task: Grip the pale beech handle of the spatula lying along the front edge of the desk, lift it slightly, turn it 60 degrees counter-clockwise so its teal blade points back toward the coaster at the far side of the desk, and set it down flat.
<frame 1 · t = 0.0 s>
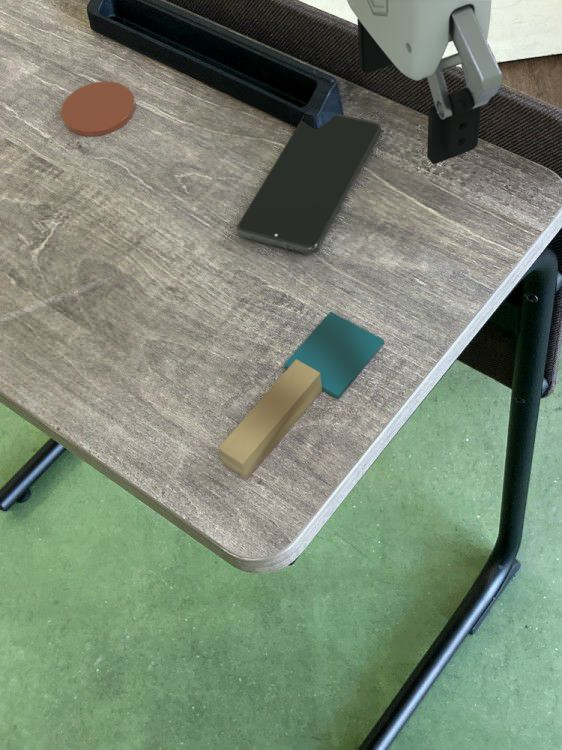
hand: (415, 107, 62), 17 cm above the table, tool pointing down, fingers open, 9 cm apart
coaster: (99, 110, 90), on the table
spatula: (357, 329, 73), on the table
smartphone: (311, 184, 82), on the table
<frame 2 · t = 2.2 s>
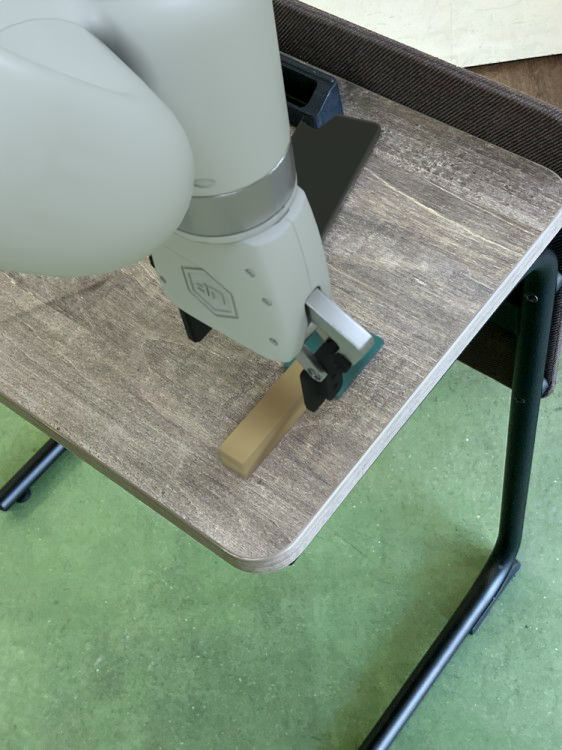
hand: (264, 359, 62), 8 cm above the table, tool pointing down, fingers open, 9 cm apart
nothing on the table moved.
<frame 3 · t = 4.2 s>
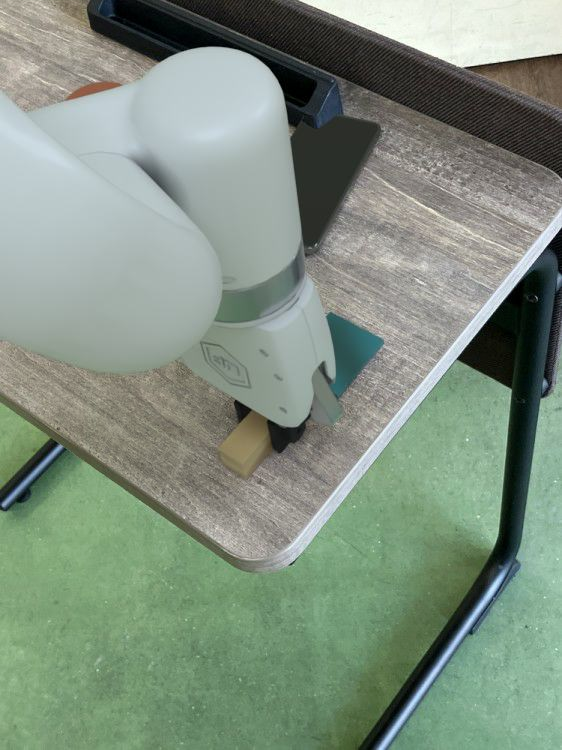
hand: (273, 426, 69), 0 cm above the table, tool pointing down, fingers closed on spatula, 2 cm apart
spatula: (357, 329, 73), on the table, touching gripper
everything else where it was.
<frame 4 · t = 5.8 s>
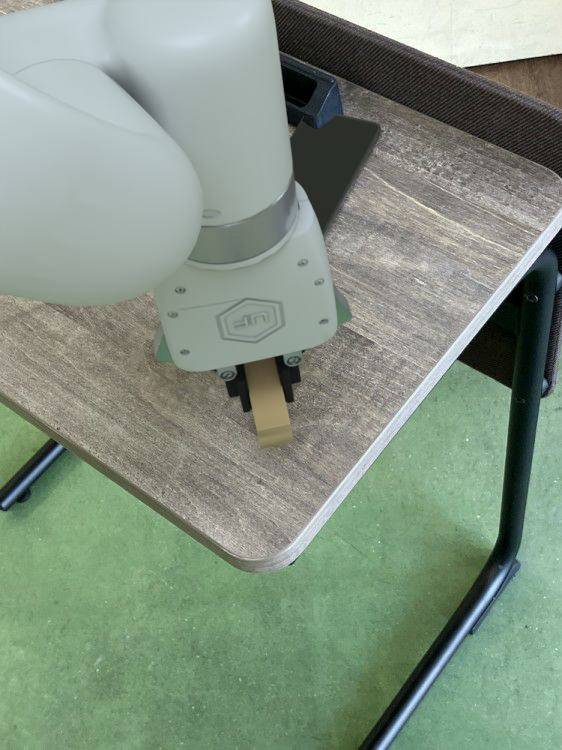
hand: (265, 388, 65), 5 cm above the table, tool pointing down, fingers closed on spatula
spatula: (240, 275, 71), point 5 cm above the table, touching gripper
everything else where it was.
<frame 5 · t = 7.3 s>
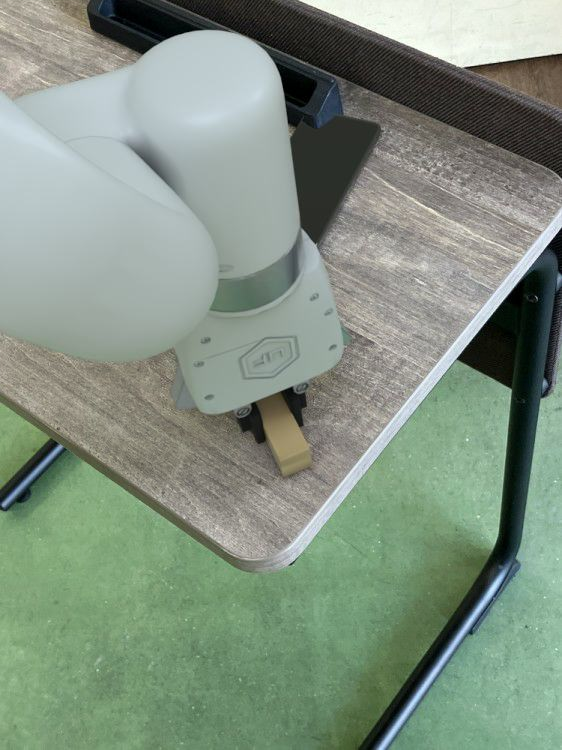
hand: (272, 418, 68), 1 cm above the table, tool pointing down, fingers closed on spatula, 2 cm apart
spatula: (222, 317, 74), point 1 cm above the table, touching gripper
everything else where it was.
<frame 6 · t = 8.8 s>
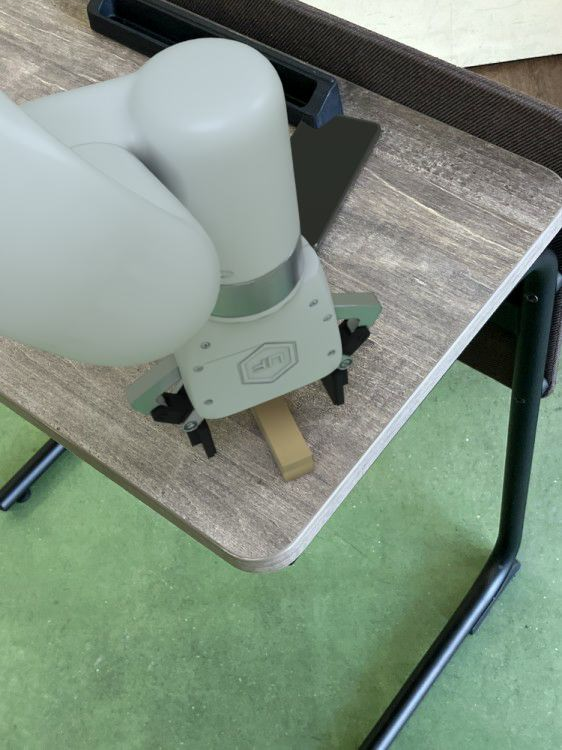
hand: (269, 415, 67), 2 cm above the table, tool pointing down, fingers open, 9 cm apart
spatula: (224, 323, 75), on the table
everything else where it was.
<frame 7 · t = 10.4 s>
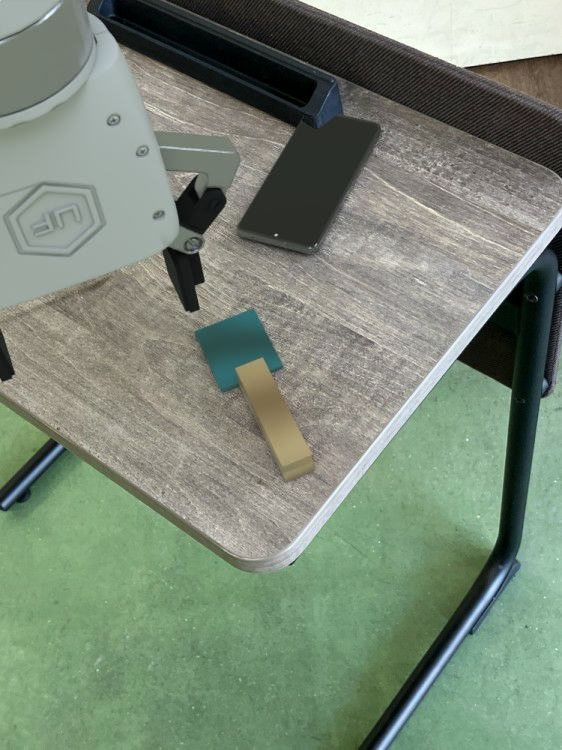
hand: (95, 325, 48), 21 cm above the table, tool pointing down, fingers open, 9 cm apart
nothing on the table moved.
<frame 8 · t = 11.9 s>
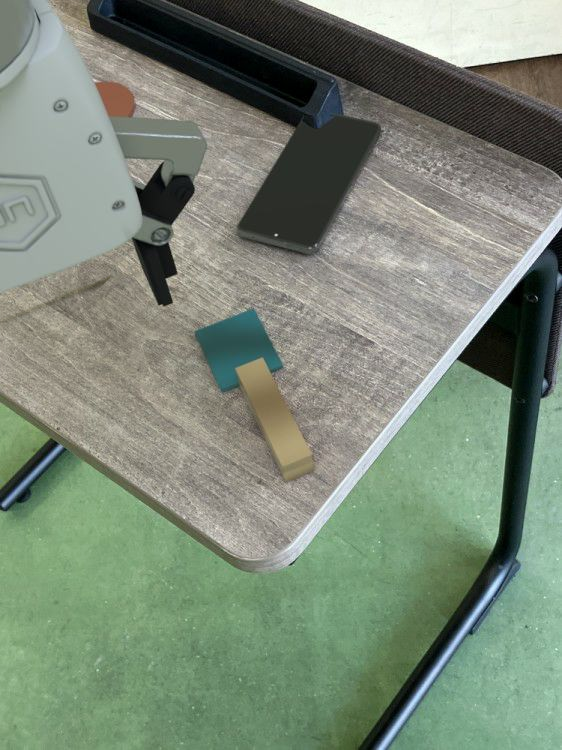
hand: (64, 321, 46), 23 cm above the table, tool pointing down, fingers open, 9 cm apart
nothing on the table moved.
at the end: spatula inside the target area (0.2 cm from its centre), on the table; spatula 29.2 cm from the coaster (horizontally); spatula tilted 0° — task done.
